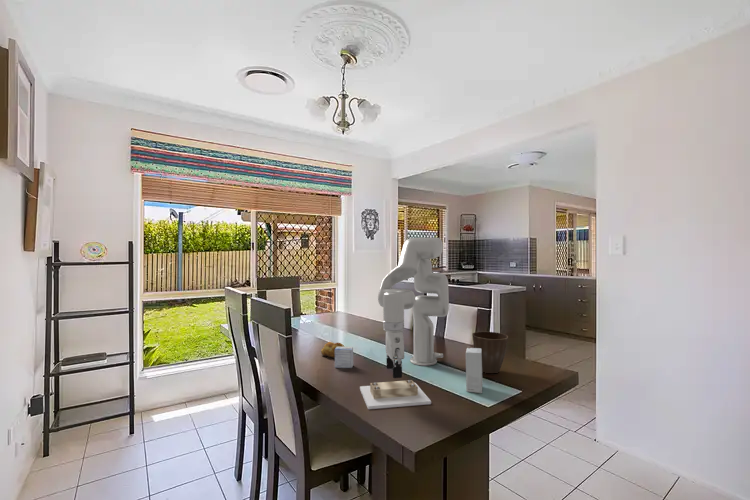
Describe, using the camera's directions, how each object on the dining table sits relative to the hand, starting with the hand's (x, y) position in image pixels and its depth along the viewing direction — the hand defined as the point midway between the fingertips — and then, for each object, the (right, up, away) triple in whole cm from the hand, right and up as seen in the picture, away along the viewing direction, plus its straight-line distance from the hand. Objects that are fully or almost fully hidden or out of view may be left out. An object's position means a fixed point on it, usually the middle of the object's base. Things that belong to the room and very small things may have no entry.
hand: (394, 372), depth 130 cm
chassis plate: (0, -8, 0) cm, 8 cm away
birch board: (0, -7, 0) cm, 7 cm away
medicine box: (-21, -9, +33) cm, 40 cm away
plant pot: (+43, -9, +26) cm, 52 cm away
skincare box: (+31, -9, +7) cm, 33 cm away
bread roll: (-28, -9, +50) cm, 58 cm away
